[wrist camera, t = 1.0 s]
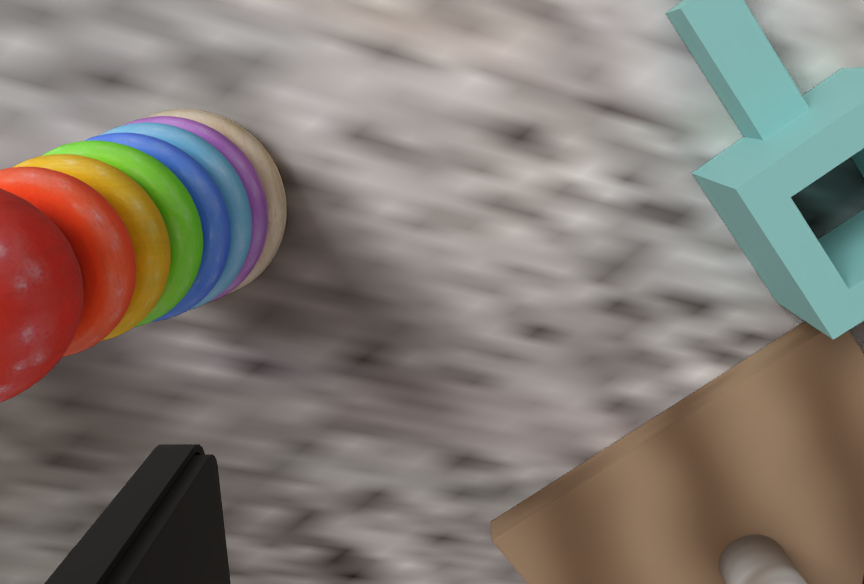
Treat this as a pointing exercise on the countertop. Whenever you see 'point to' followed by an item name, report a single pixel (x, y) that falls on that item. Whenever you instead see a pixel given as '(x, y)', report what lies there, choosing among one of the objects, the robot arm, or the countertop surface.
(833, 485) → the post base
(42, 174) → the stacking toy
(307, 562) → the countertop surface
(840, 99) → the teal square scoop
